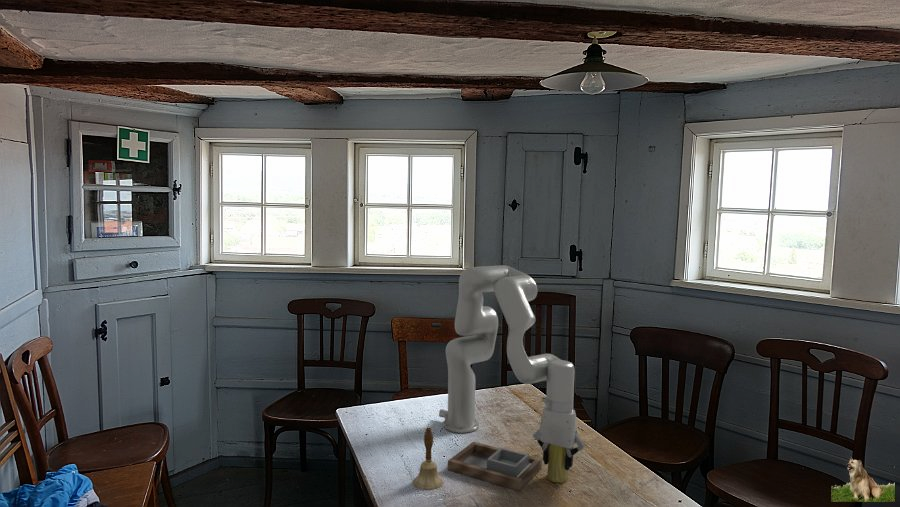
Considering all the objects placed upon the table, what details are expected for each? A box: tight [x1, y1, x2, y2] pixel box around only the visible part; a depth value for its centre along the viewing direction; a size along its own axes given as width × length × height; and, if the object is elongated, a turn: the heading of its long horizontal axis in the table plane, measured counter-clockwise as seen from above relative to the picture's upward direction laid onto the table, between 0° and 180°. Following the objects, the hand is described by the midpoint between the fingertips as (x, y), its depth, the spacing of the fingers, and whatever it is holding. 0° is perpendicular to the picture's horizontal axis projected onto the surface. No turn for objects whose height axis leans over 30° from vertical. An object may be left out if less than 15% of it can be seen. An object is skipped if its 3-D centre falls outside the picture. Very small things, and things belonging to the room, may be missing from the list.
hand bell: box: [413, 427, 444, 491], centre depth 161 cm, size 8×8×16 cm
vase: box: [546, 444, 569, 484], centre depth 164 cm, size 6×6×14 cm
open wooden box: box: [447, 441, 543, 492], centre depth 169 cm, size 23×16×3 cm
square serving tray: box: [485, 447, 531, 477], centre depth 167 cm, size 11×12×4 cm
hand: (557, 465), depth 165 cm, fingers closed on vase, 5 cm apart
